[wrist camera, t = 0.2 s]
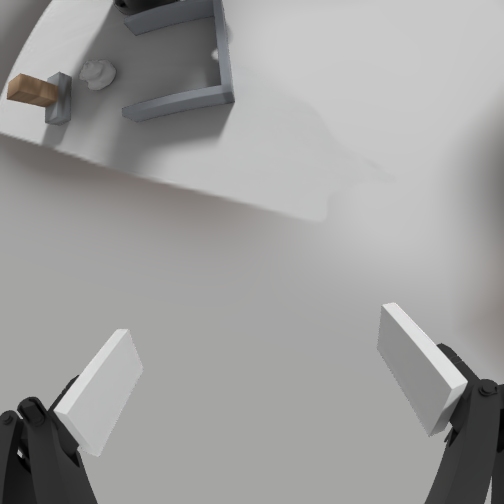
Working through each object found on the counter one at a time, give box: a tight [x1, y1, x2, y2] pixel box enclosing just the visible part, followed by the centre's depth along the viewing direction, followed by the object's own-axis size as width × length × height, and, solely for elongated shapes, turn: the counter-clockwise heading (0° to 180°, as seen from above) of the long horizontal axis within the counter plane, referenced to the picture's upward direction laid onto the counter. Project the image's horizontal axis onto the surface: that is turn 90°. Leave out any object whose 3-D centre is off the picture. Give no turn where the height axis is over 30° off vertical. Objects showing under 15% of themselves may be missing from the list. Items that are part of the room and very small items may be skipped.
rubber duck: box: [79, 60, 116, 90], centre depth 29 cm, size 5×7×8 cm
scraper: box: [7, 72, 72, 125], centre depth 27 cm, size 9×3×14 cm, turn 7°
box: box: [122, 0, 235, 122], centre depth 30 cm, size 18×15×5 cm
